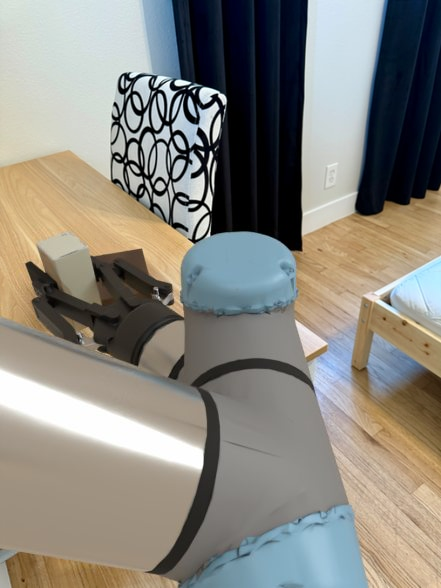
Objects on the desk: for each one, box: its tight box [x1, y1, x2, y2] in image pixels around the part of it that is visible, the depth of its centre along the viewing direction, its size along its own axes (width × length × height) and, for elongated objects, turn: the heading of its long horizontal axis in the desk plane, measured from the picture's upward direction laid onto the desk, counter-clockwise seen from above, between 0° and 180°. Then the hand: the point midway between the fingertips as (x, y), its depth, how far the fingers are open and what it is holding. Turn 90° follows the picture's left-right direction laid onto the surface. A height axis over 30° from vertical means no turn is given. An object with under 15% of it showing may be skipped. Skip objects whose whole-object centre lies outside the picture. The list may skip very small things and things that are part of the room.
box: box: [35, 230, 102, 332], centre depth 52 cm, size 5×4×11 cm
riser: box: [93, 247, 150, 307], centre depth 77 cm, size 16×14×5 cm
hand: (50, 262), depth 55 cm, fingers closed on box, 4 cm apart
